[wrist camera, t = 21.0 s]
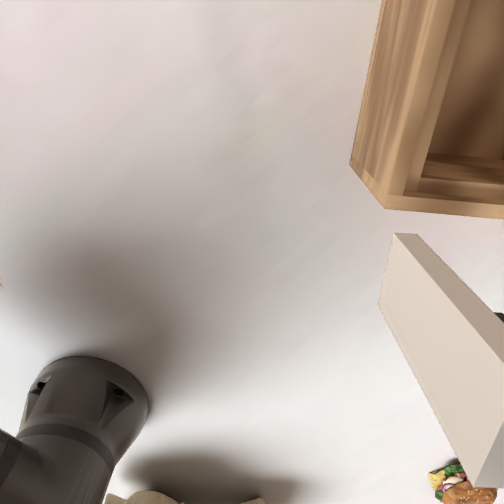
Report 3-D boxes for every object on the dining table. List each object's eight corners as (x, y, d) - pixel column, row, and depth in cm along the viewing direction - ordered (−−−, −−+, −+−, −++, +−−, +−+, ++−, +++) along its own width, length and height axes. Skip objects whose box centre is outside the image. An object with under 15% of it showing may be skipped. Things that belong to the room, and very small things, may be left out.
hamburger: (526, 475, 59) (552, 517, 53) (438, 506, 63) (454, 548, 57) (491, 421, 54) (517, 462, 48) (398, 459, 58) (412, 500, 52)
